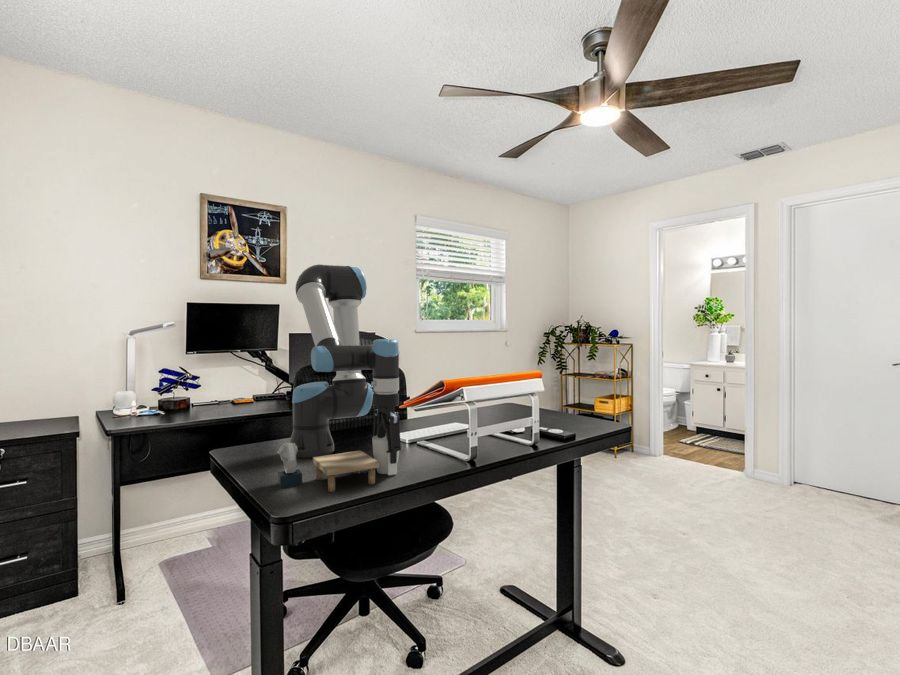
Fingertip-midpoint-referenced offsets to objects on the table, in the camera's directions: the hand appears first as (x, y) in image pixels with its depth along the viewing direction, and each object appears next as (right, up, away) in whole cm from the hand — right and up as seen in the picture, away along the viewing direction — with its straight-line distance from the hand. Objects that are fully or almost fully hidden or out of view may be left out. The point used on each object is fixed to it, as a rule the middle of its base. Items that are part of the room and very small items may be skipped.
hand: (386, 470), depth 140 cm
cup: (0, 0, 0) cm, 0 cm away
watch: (-25, -1, -10) cm, 27 cm away
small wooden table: (-10, -1, -8) cm, 13 cm away
